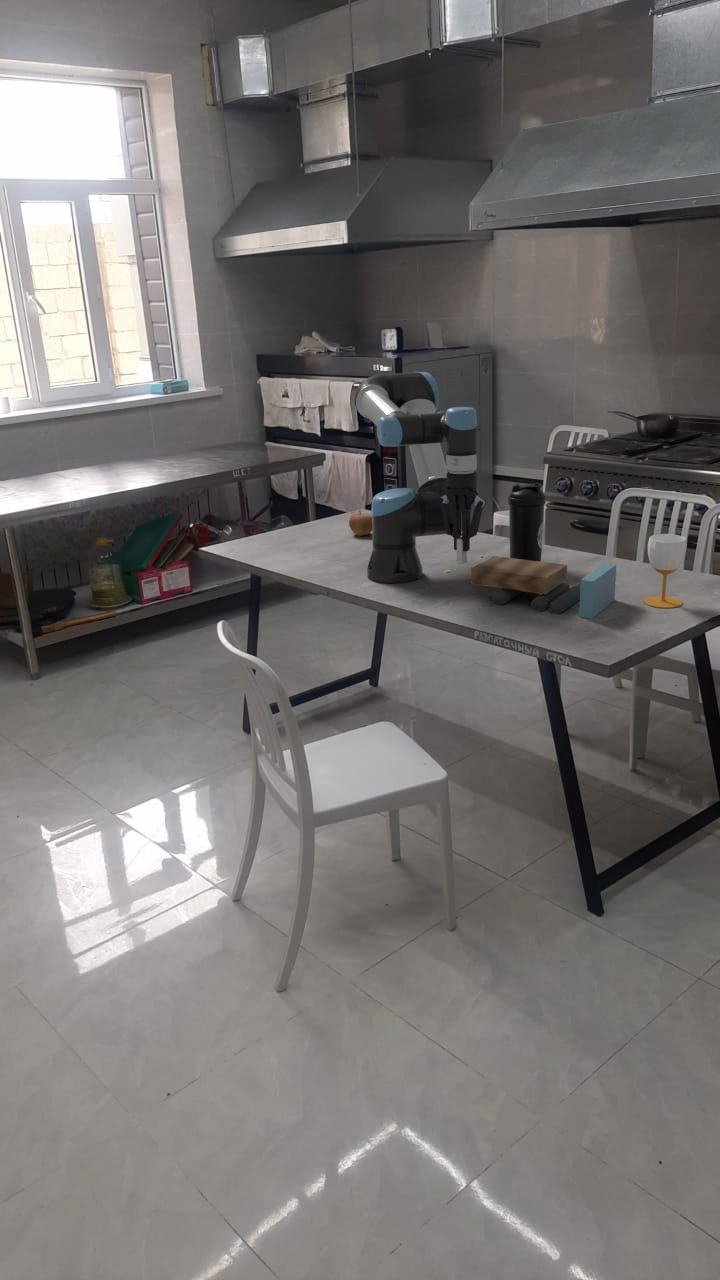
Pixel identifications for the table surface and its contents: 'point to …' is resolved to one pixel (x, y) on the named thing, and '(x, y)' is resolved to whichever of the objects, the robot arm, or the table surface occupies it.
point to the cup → (665, 564)
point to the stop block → (597, 590)
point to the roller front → (565, 599)
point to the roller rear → (504, 596)
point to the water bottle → (526, 521)
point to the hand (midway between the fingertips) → (461, 562)
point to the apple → (361, 524)
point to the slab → (519, 574)
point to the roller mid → (549, 597)
